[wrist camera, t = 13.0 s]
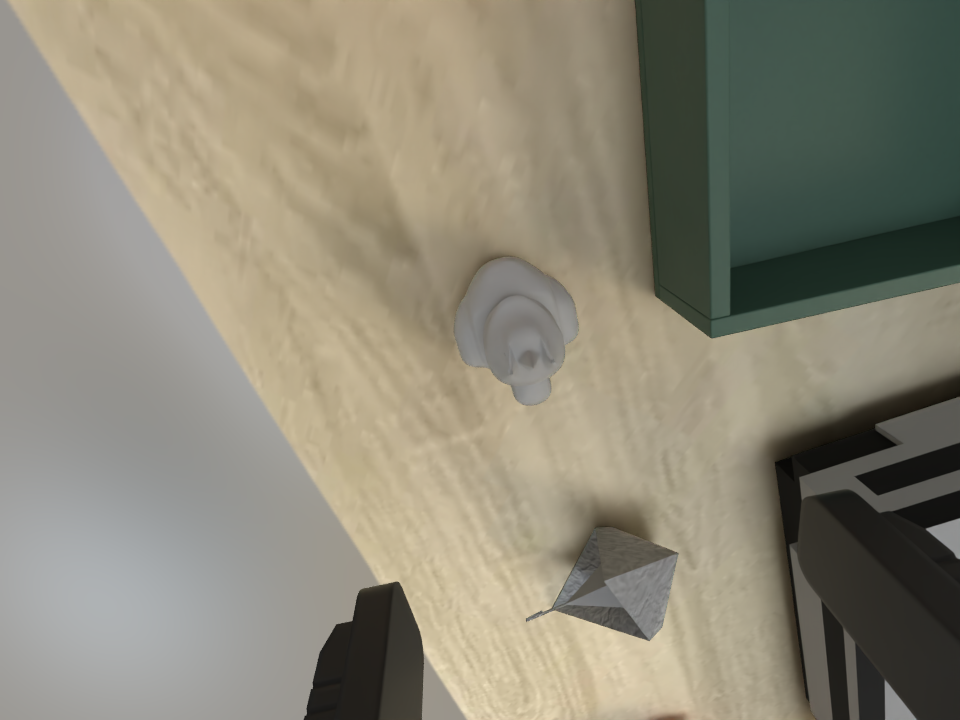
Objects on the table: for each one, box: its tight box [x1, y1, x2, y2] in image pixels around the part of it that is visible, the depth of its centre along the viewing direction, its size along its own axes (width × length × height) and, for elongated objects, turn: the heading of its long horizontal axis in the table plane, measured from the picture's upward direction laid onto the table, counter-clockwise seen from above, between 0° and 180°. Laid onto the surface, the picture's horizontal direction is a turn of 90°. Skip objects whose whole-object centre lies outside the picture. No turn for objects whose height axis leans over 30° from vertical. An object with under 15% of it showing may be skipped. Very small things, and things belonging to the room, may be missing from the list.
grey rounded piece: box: [454, 256, 579, 405], centre depth 20 cm, size 5×7×8 cm
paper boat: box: [526, 527, 678, 641], centre depth 28 cm, size 12×6×9 cm
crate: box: [635, 0, 960, 338], centre depth 18 cm, size 16×16×6 cm
